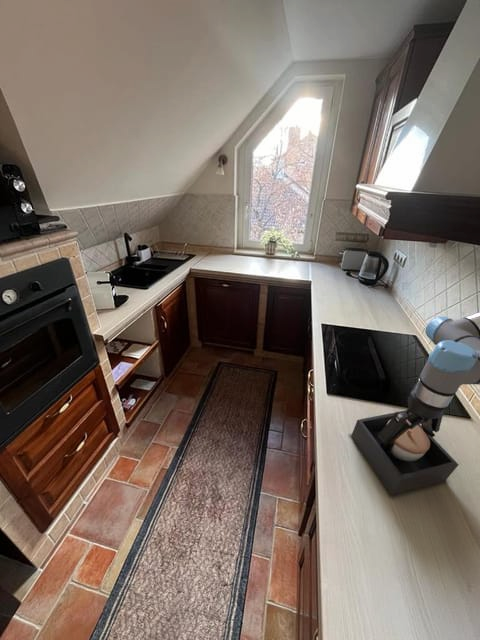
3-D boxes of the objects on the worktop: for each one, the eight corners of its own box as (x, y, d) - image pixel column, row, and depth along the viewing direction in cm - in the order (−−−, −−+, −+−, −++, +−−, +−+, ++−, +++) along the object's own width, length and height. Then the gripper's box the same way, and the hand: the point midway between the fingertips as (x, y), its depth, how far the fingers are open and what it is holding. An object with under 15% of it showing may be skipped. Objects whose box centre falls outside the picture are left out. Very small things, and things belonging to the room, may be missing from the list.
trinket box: (375, 430, 80) (384, 410, 76) (412, 438, 79) (423, 418, 74) (383, 463, 71) (394, 443, 67) (425, 472, 70) (440, 452, 65)
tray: (397, 425, 86) (406, 410, 82) (445, 480, 71) (458, 464, 67) (351, 435, 82) (357, 419, 78) (390, 495, 67) (401, 479, 63)
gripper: (452, 379, 69) (421, 431, 80) (379, 392, 64) (356, 445, 76) (480, 401, 63) (442, 453, 74) (401, 417, 58) (373, 470, 69)
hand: (399, 449), depth 75 cm, fingers closed on trinket box, 11 cm apart
